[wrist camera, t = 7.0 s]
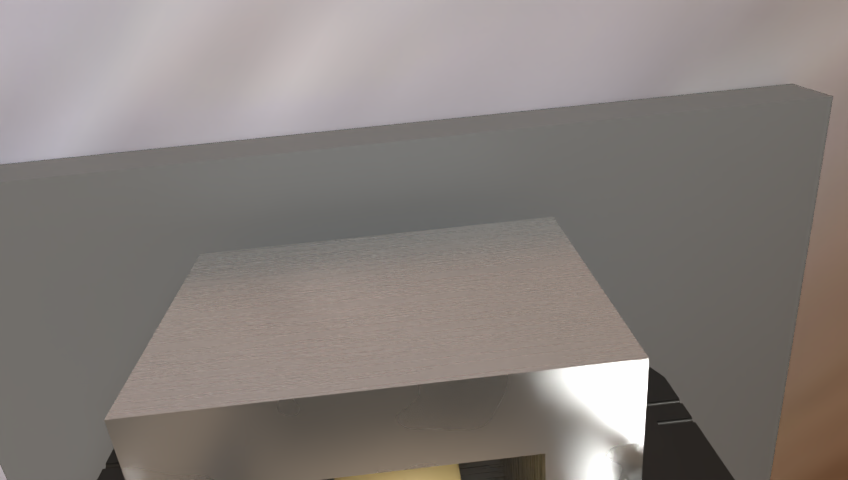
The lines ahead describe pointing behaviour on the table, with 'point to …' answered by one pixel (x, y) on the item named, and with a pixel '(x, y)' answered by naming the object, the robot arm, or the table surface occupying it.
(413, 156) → the plate
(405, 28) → the table surface
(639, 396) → the frame
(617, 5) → the table surface
